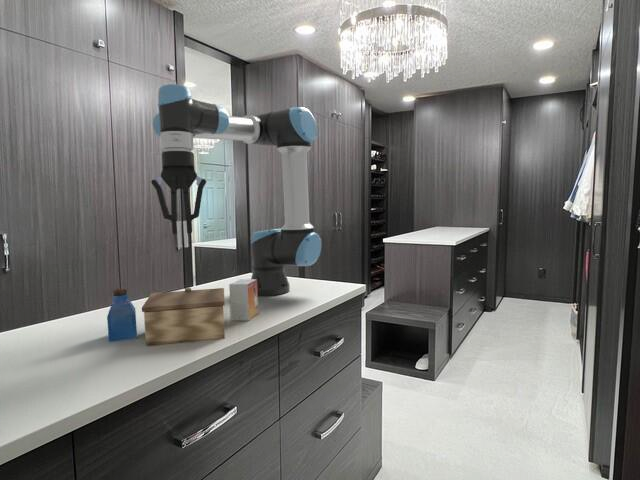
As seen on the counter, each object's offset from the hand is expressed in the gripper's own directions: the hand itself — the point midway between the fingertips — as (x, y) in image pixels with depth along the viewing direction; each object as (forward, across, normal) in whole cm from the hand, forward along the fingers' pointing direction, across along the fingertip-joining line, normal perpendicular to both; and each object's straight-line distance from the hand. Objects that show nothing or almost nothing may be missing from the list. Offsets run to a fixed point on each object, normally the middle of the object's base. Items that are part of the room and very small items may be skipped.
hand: (183, 246), depth 103 cm
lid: (+14, 0, +1) cm, 14 cm away
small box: (+23, +15, +12) cm, 29 cm away
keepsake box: (+22, 0, 0) cm, 22 cm away
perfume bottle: (+23, -16, +4) cm, 28 cm away
